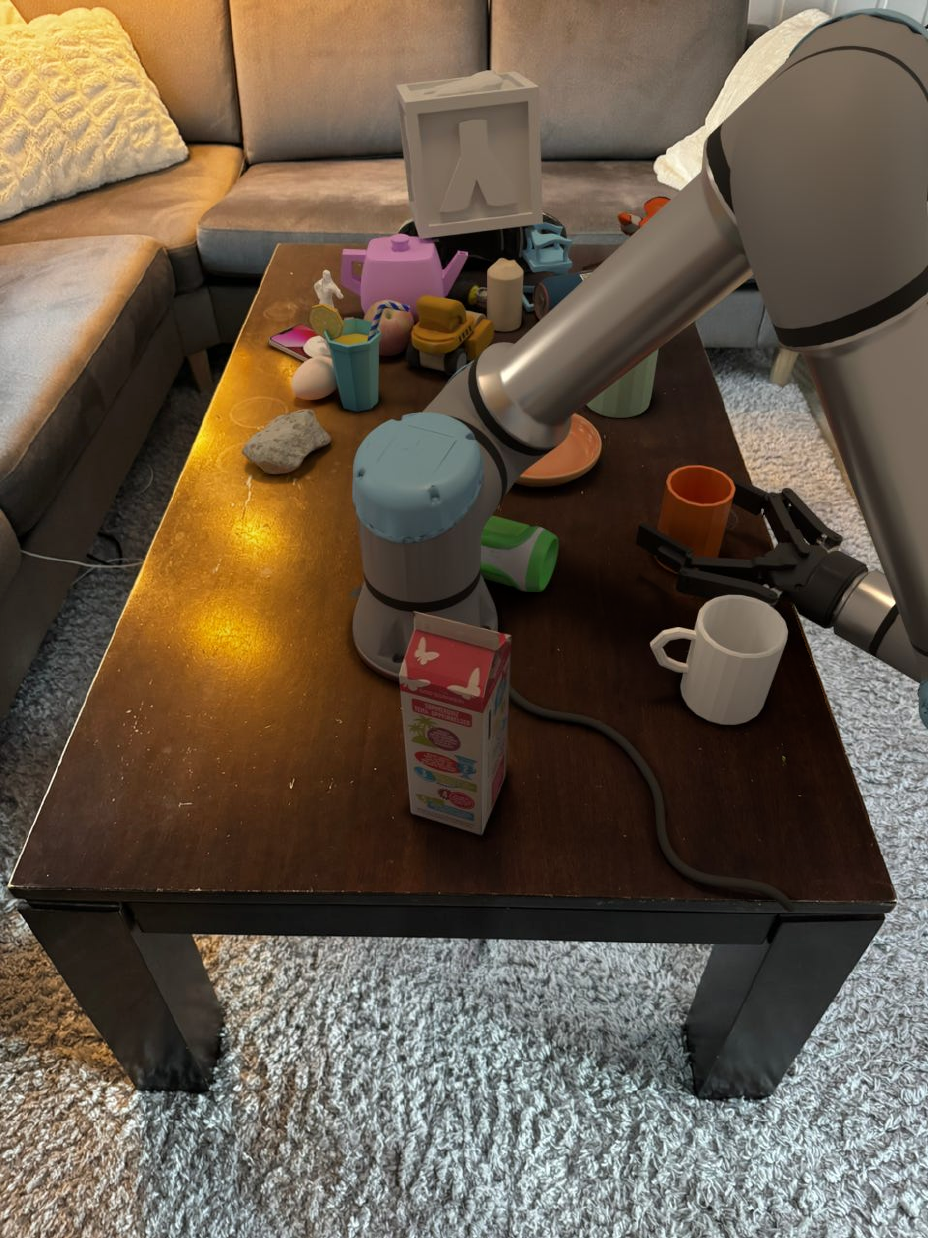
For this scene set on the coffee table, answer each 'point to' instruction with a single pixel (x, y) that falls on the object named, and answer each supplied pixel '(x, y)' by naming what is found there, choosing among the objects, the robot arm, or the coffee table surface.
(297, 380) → the egg
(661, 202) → the fish
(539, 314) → the soda can
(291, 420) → the decorative stone
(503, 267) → the candle
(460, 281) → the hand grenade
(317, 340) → the figurine
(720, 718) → the mug
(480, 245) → the running shoe
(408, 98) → the decorative block
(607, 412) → the green jar
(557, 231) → the phone stand
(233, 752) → the coffee table surface
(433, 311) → the toy roller
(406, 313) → the apple
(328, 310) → the cup
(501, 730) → the juice carton
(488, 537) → the speaker
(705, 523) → the orange cup
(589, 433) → the saucer
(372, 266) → the teapot
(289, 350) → the smartphone
